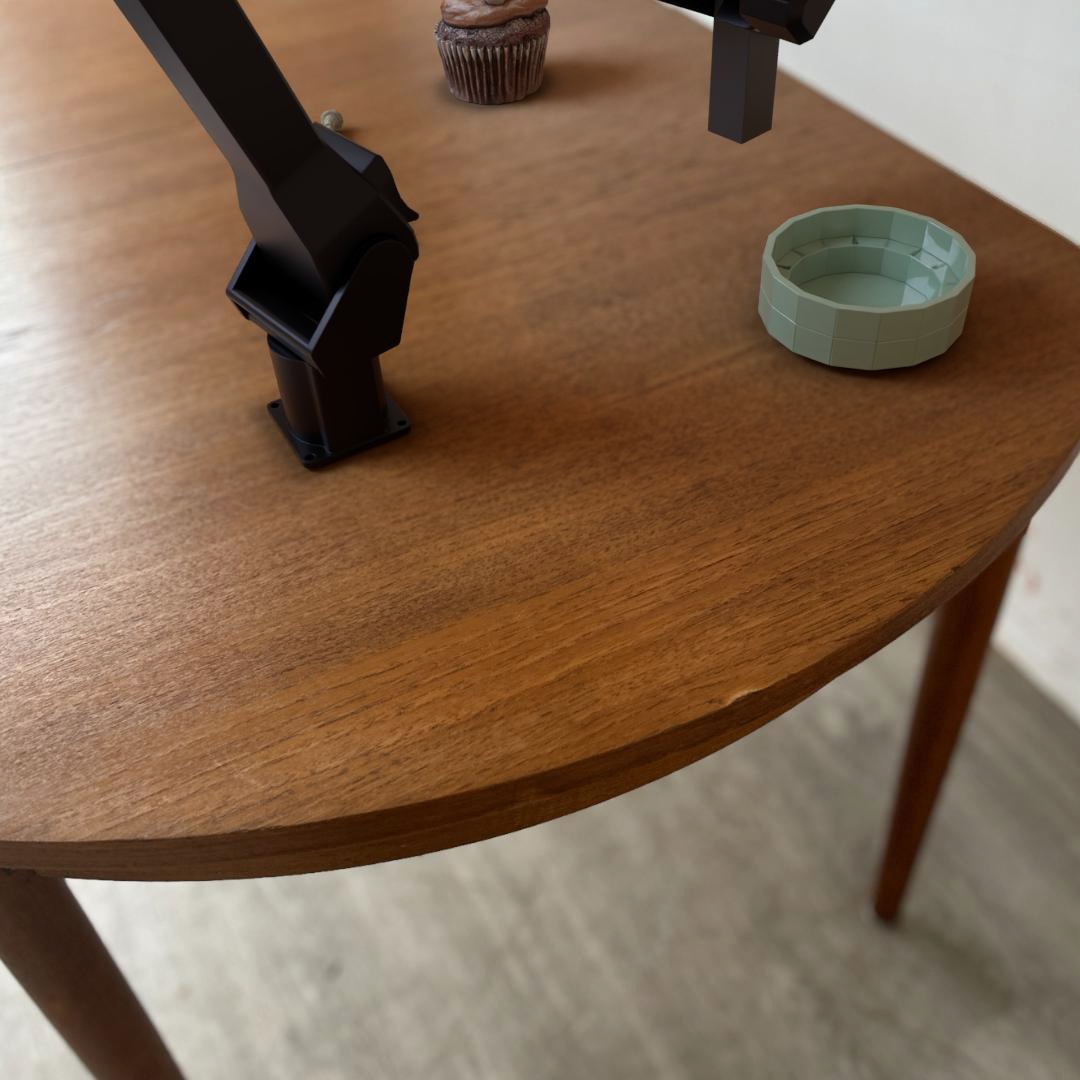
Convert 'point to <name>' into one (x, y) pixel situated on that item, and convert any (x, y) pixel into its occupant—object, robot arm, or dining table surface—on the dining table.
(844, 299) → the bowl
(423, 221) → the dining table surface
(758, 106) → the scraper
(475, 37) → the cupcake
